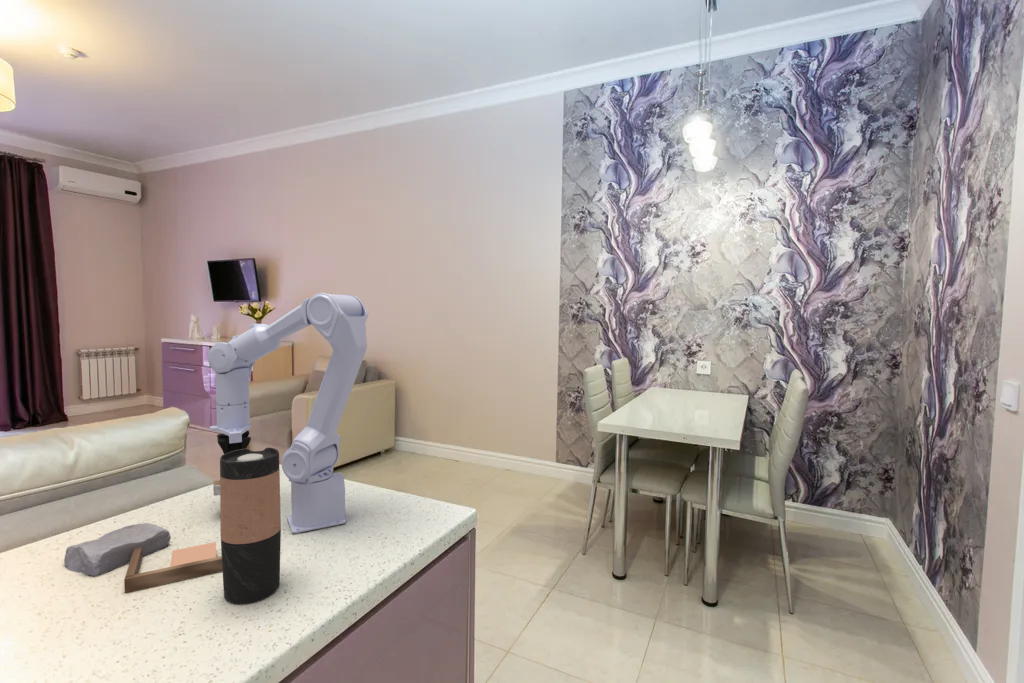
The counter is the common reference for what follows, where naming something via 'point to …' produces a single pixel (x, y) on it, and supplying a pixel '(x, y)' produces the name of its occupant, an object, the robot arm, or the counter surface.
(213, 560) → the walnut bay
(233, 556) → the travel mug
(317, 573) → the counter surface
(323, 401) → the robot arm
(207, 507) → the counter surface
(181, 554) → the terracotta tile
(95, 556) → the stone block
